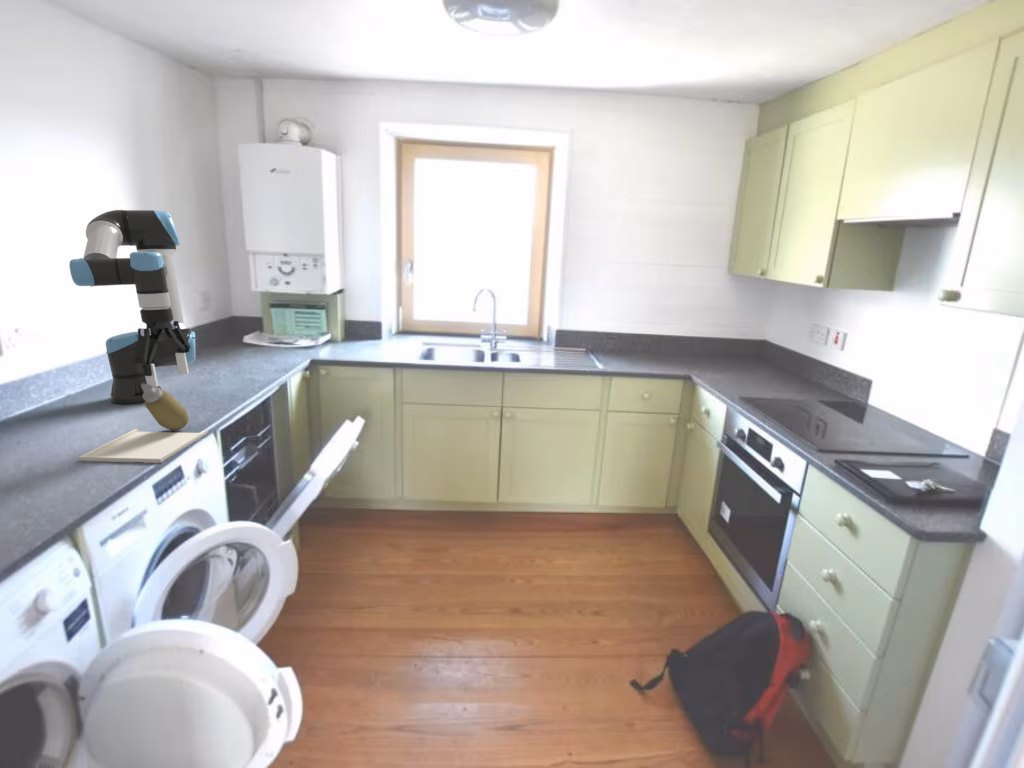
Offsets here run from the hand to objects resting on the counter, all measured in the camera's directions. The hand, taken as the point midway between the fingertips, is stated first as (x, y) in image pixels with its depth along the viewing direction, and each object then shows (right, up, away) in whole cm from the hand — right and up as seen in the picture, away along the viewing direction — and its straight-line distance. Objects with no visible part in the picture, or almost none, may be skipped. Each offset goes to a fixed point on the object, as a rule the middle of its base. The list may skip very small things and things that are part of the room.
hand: (169, 379), depth 154 cm
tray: (-1, -19, -8) cm, 21 cm away
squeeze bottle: (0, -13, +5) cm, 14 cm away
